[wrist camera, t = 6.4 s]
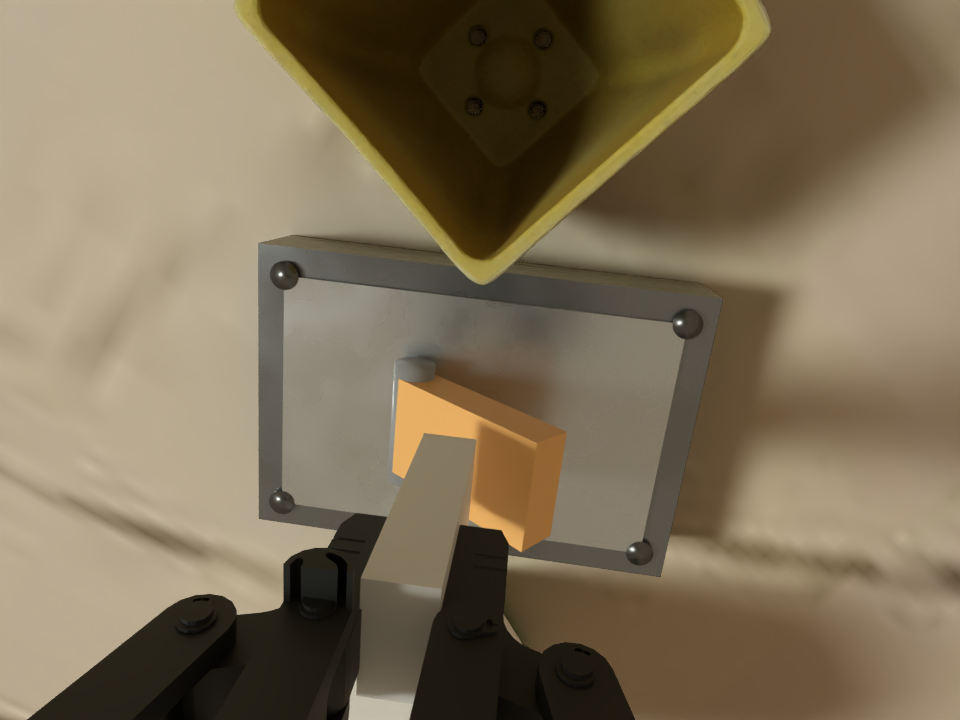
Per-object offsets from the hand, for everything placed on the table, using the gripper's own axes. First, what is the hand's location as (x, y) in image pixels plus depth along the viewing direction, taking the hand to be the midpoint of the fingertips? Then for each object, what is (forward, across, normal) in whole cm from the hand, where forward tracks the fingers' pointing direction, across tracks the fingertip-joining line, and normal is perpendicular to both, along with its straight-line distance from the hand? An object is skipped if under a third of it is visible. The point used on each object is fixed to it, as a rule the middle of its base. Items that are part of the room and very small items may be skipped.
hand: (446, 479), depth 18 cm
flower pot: (+9, 0, +12) cm, 15 cm away
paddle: (+4, -2, 0) cm, 5 cm away
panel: (+8, 0, 0) cm, 8 cm away
